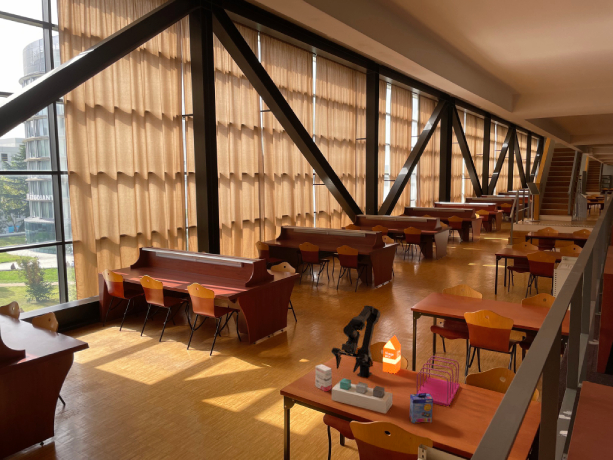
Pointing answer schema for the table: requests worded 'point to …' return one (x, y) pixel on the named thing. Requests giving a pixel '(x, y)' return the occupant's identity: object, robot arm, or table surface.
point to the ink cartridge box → (421, 407)
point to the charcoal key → (378, 392)
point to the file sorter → (439, 384)
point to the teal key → (345, 384)
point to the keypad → (362, 398)
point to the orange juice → (392, 355)
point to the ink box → (323, 377)
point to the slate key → (361, 388)
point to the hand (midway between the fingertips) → (345, 370)
